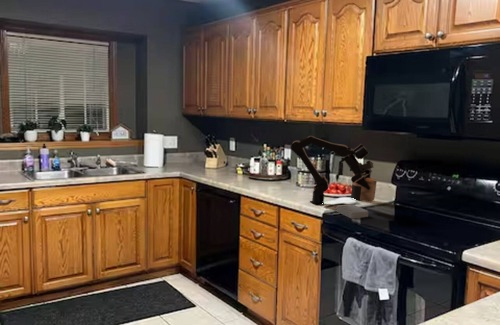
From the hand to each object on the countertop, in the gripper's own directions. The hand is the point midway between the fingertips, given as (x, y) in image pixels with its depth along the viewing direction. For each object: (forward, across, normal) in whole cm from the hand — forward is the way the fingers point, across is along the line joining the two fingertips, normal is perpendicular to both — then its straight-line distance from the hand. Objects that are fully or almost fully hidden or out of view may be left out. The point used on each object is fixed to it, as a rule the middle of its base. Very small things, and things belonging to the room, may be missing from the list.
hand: (371, 188), depth 237 cm
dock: (+6, -11, +13) cm, 18 cm away
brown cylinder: (+4, 0, +6) cm, 7 cm away
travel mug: (0, +21, +19) cm, 28 cm away
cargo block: (-2, 0, 0) cm, 2 cm away
